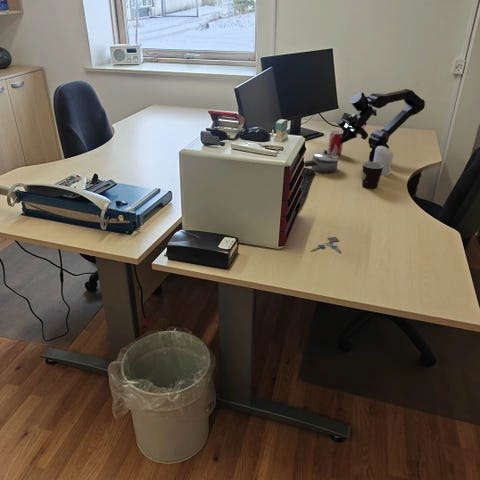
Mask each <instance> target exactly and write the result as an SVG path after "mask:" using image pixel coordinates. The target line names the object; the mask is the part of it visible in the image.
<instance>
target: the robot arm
mask: <svg viewBox="0 0 480 480" xmlns="http://www.w3.org/2000/svg"><path fill="white" fill-rule="evenodd" d="M399 101H403V102H404V106H403V109H402V110H400V112H398V113H397V115H396V116H395V117H394V118H393V119H391V121H389V122H388V123H387V124H386V125H385V126H384V127H383V128H382V129H377V128H376V129H374V131H373V132H372V133H370V136H369V133H368V132H367V131H366V130H365V128H363V126H367V122H368V120H369V119H370V118H371V117H372V116H374V117H377V116H378V115H377V111H378V110H376V109H381V108H384V107H386V106H387V105H388V104H389V103H390V104H392V103H395V102H399ZM349 102H350V104H351V106H353V108H354V109H355V110H356V111H357V113H356V114H355V113H352V114H350V113H347V112H343V114H342V116H341V118H340V119H338V120H337V121H336V125H338V126H339V128H340V129H341V130H342V132H343V133H342V136H341V139H340V141H339V143H340V144H342V143H343V144H344V143H346V142H348V141H350V140H352V139H355V138H356V139H357V138H358V135H360V139H362V140H367V138H368V141H367V142H368V146H369V149H371V151H370V152H369V157H368V162H373V160H374V155H375V150H376V148H377V147H378V146H384V147H387V148H388V149H389V150H390V146H389V145H388V144H387V143H388V142H389V140H390V139H389V138H390V137H391V135H392V134H394V132H396V131H397V130H398V129H399V128H400V127H401V126H402V125H403V124H404V123H405V122H406V121H407V120H408V119H409V118H410V117H412V116H414V115H415V116H416V115H417V114H420V112H422V111H423V110H424V109H425V106H426V102H425V100H424V99H422V98H421V97H420V96H419V95H417V94H416V92H414V90H412V89H407V88H404V89H402V90H397V91H393V92H388V93H370V94H369V96H368V95H367V96H366V95H365V93H364V92H363V91H359V92H358V93H355V94H354V95H353V96H351V97H350V99H349Z"/></svg>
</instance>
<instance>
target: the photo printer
mask: <svg viewBox="0 0 480 480" xmlns="http://www.w3.org/2000/svg"><path fill="white" fill-rule="evenodd" d="M393 158H394V154H393V152H392V151H391V149H390V148H389V149H388V148H387V147H384V146H378V147H377V148H376V150H375V155H374V160H373V162H377V163H380V164H382V165H383V170H382V173H381V176H383V177H387V176H389V175H390V172H391V168H392V163H393Z"/></svg>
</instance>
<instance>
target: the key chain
mask: <svg viewBox="0 0 480 480" xmlns="http://www.w3.org/2000/svg"><path fill="white" fill-rule="evenodd" d="M327 240H328V241H329V242H326V243H325V242H323V243H322V244H318V245H317V247H315V248H314V249H311V250H310V252H314V251H315V250H318V249H321V248H322V249H324V248H325V247H331V249H334V250H335V251H336V252H338V253H341V252H342V250H340V248H339V247H338V245H334V244H333V243H339V242H340V240H339V239H338V238H337V236H333V237H332V236H331V237H327ZM328 243H329V244H328ZM325 244H326V246H325Z"/></svg>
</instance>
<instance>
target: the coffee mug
mask: <svg viewBox="0 0 480 480" xmlns="http://www.w3.org/2000/svg"><path fill="white" fill-rule="evenodd" d="M382 170H383V165H382V164H380V163H377V162H369V161H365V162H363V163H362V178H361V179H362V183H361V187H362V188H364V189H365V188H366V190H371V189H372V190H376V189H377V188H378V185H379V183H380V179H381V177H382V175H381V173H382Z"/></svg>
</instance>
